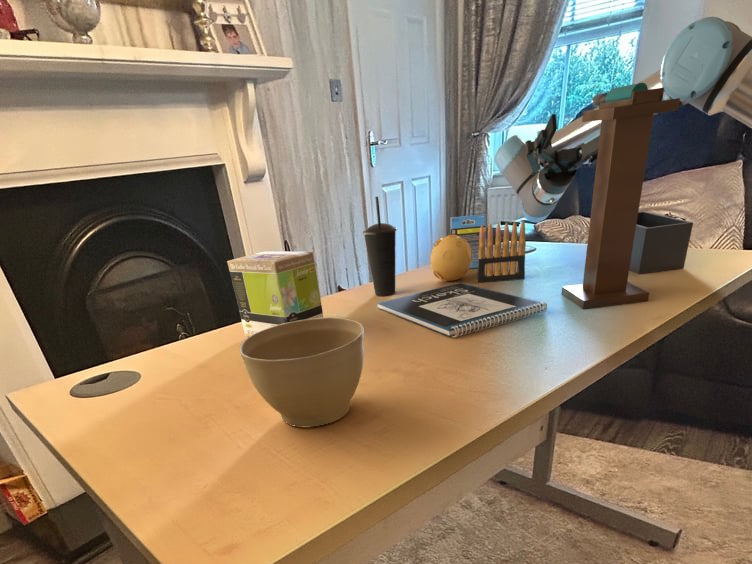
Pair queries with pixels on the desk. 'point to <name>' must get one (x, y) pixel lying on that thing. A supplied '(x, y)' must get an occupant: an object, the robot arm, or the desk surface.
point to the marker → (618, 93)
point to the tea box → (275, 288)
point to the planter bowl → (307, 367)
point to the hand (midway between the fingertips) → (590, 116)
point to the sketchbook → (461, 308)
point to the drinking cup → (382, 255)
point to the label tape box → (469, 233)
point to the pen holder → (659, 243)
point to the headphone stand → (617, 198)
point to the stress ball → (451, 258)
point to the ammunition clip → (492, 254)
